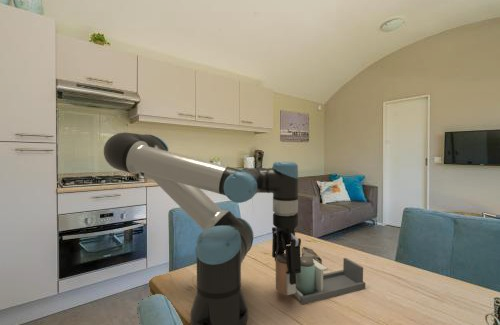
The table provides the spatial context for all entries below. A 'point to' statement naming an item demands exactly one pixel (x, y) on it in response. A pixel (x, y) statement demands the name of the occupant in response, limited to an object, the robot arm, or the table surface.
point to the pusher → (319, 276)
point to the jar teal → (306, 276)
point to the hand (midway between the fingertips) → (285, 287)
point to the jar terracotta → (281, 273)
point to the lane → (337, 283)
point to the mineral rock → (311, 254)
